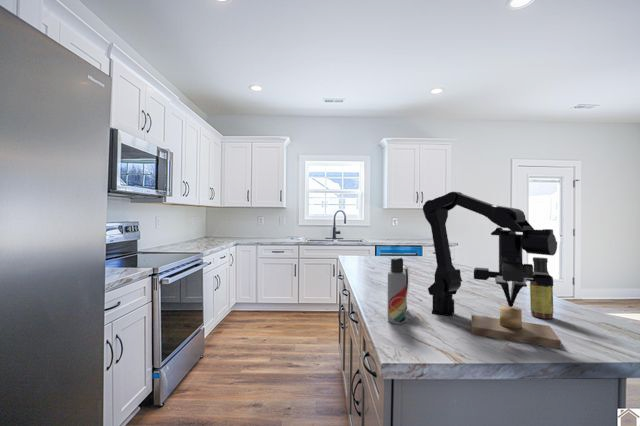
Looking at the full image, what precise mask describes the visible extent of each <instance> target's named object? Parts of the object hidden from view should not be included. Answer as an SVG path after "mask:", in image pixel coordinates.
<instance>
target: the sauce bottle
mask: <svg viewBox="0 0 640 426" xmlns="http://www.w3.org/2000/svg"><path fill="white" fill-rule="evenodd" d="M548 261H549V260H548V257H544V256H543V257H541V256H540V257H539V256H533V257H532V262H533V272H542V273H548V274H549V275H550V273H549V270H548ZM553 289H554V285H553V286H543V285H539V284H537V283H536V282H535V281H529V299H530V300H529V301H530V302H529V304H530V306H529V307H530V313H531V316H533V317H535V318H538V319H546V320H550V319H553V317H554V292H553Z"/></svg>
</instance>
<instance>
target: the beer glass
mask: <svg viewBox="0 0 640 426" xmlns="http://www.w3.org/2000/svg"><path fill="white" fill-rule="evenodd" d="M389 268H390V270H389V272H391V266H390V267H389ZM403 273H406V312H408V311H409V307H408V295H409V290H410V279H411V278H410V267H408V266H403Z"/></svg>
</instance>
